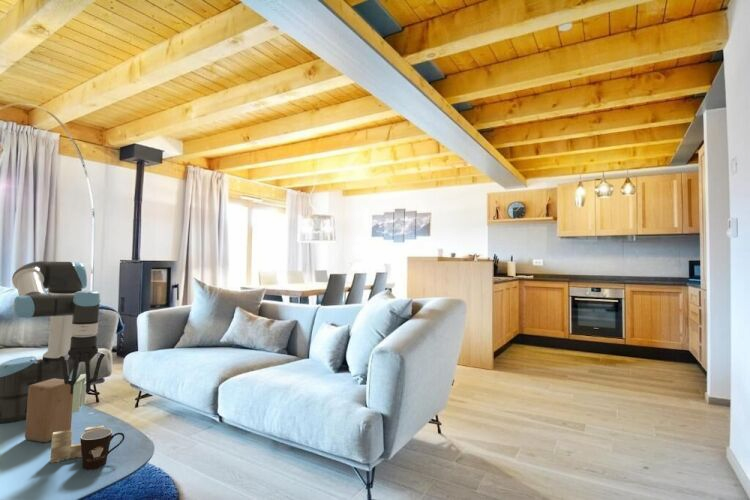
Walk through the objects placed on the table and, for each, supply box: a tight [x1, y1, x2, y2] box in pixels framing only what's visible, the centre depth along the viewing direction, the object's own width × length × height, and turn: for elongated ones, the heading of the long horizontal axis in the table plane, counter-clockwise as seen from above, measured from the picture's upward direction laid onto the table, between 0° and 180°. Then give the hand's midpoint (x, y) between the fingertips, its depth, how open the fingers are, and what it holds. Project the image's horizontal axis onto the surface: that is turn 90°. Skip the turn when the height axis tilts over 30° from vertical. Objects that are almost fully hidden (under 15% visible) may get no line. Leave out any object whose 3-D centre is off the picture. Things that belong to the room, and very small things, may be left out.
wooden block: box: [24, 378, 73, 443], centre depth 148 cm, size 10×10×20 cm
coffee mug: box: [80, 427, 126, 471], centre depth 130 cm, size 12×9×10 cm
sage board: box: [72, 373, 86, 414], centre depth 137 cm, size 14×2×9 cm, turn 29°
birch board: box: [49, 424, 105, 464], centre depth 134 cm, size 14×4×9 cm, turn 120°
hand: (79, 402), depth 138 cm, fingers closed on sage board, 2 cm apart
